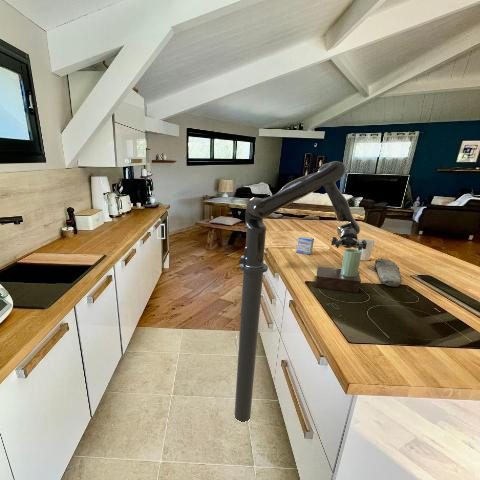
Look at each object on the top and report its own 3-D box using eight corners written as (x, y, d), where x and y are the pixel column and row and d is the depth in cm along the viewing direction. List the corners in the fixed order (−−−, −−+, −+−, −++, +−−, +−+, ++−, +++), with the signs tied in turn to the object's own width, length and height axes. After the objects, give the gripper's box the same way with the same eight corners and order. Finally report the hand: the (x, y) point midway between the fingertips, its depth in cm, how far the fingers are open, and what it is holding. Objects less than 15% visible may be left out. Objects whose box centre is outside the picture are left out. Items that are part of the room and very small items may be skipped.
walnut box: (314, 287, 129) (316, 275, 127) (315, 276, 141) (317, 266, 139) (358, 293, 123) (361, 281, 121) (356, 281, 135) (358, 270, 133)
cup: (340, 275, 127) (345, 251, 123) (340, 271, 132) (344, 248, 129) (357, 277, 125) (362, 253, 121) (356, 272, 130) (361, 249, 126)
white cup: (355, 260, 165) (358, 241, 162) (353, 256, 172) (357, 238, 168) (371, 261, 163) (376, 242, 159) (369, 257, 169) (373, 239, 166)
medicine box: (295, 252, 179) (297, 237, 176) (298, 251, 183) (300, 236, 179) (309, 254, 175) (312, 239, 172) (312, 253, 178) (314, 238, 175)
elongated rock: (376, 288, 131) (403, 293, 127) (380, 276, 129) (408, 281, 125) (371, 262, 160) (393, 265, 156) (374, 252, 157) (397, 255, 154)
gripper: (334, 228, 150) (332, 236, 137) (367, 232, 145) (369, 240, 132) (331, 243, 153) (329, 253, 140) (363, 247, 148) (364, 257, 135)
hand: (348, 247), depth 136 cm, fingers open, 8 cm apart
